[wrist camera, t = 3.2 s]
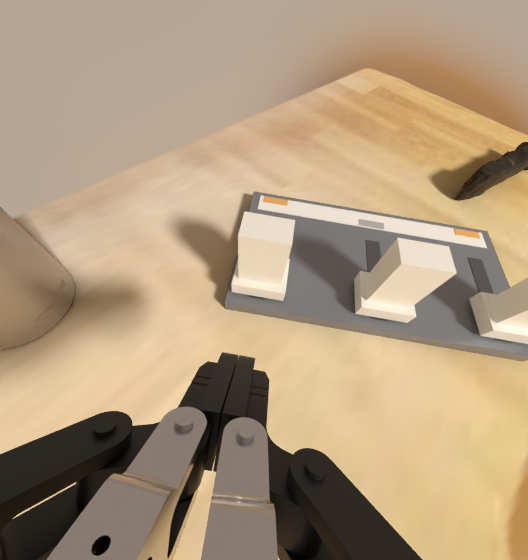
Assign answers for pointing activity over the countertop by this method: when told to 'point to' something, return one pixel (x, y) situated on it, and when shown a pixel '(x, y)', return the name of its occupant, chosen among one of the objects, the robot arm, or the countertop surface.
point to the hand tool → (495, 172)
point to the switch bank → (363, 257)
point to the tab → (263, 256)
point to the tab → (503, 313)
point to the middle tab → (402, 279)
